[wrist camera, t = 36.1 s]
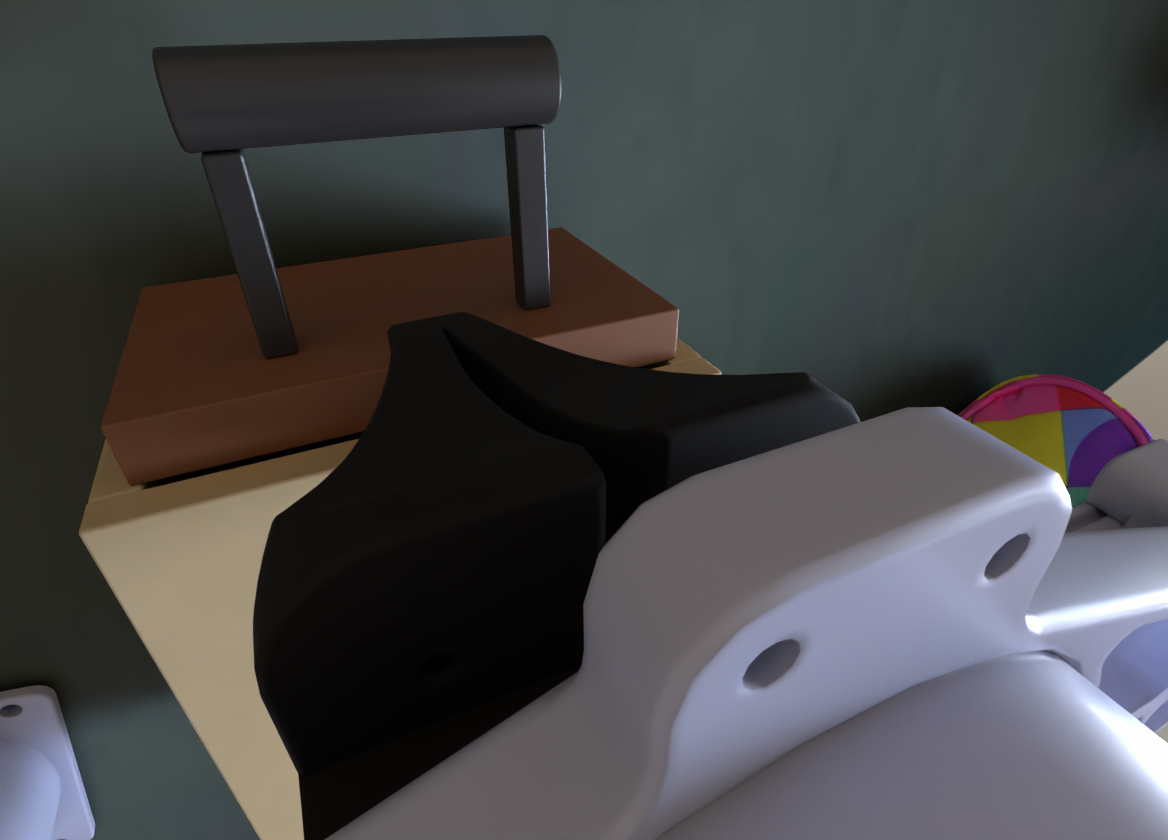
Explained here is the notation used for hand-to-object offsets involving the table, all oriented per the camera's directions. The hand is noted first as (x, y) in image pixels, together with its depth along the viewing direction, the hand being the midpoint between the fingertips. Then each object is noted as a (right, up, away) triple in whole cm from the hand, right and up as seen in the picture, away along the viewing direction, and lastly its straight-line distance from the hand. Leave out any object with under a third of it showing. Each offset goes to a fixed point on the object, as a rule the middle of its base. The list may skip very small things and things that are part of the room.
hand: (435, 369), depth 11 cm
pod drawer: (-3, 0, +7) cm, 8 cm away
